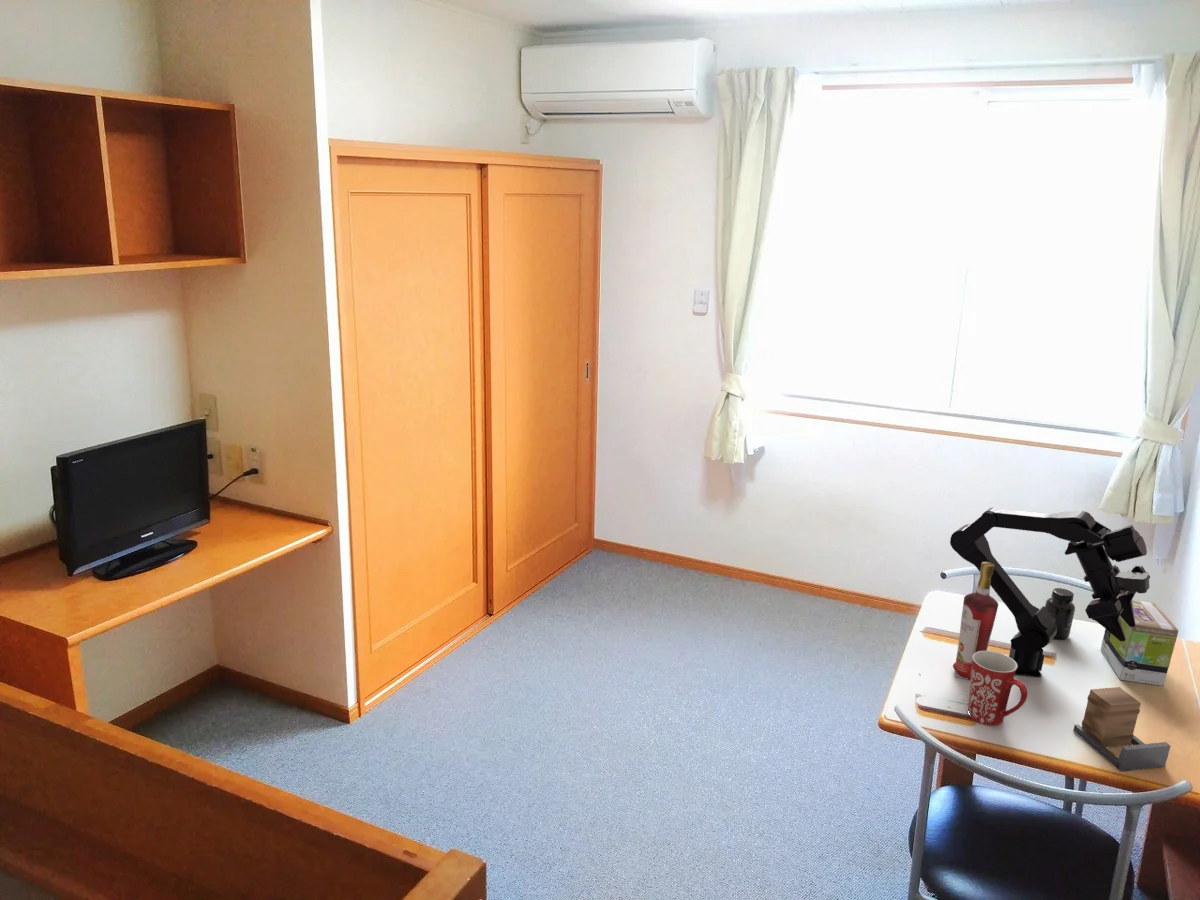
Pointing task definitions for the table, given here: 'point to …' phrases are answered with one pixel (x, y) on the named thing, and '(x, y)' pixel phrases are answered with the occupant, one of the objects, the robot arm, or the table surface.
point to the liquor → (976, 622)
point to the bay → (1130, 752)
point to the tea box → (1142, 646)
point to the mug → (992, 687)
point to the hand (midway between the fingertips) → (1128, 633)
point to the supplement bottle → (1061, 611)
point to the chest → (1111, 716)
